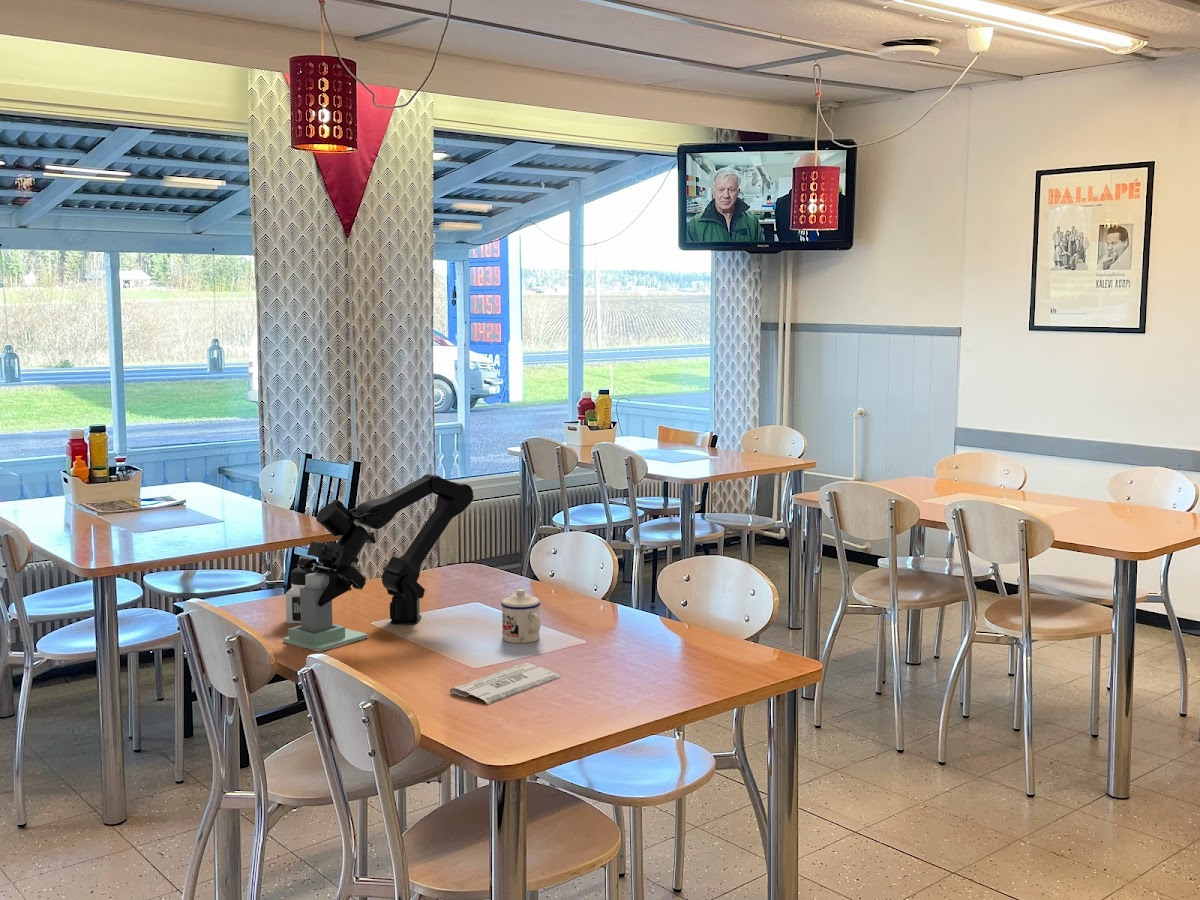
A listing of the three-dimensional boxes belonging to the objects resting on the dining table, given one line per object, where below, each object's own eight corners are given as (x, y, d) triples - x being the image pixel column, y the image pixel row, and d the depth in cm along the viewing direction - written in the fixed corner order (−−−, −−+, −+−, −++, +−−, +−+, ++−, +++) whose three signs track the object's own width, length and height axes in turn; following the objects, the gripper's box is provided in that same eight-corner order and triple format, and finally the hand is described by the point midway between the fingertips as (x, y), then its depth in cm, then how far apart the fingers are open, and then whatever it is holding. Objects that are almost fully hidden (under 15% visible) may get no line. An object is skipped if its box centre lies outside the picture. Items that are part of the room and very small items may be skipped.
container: (317, 623, 283) (316, 571, 282) (286, 623, 283) (284, 571, 282) (325, 615, 291) (324, 564, 289) (294, 615, 291) (293, 564, 289)
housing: (331, 628, 279) (331, 614, 278) (367, 638, 271) (367, 623, 270) (283, 641, 268) (283, 627, 267) (319, 652, 260) (319, 636, 259)
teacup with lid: (493, 637, 272) (493, 589, 270) (526, 631, 277) (525, 583, 276) (522, 649, 262) (522, 599, 261) (555, 642, 268) (555, 593, 266)
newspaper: (517, 669, 250) (518, 657, 250) (559, 686, 243) (560, 674, 242) (439, 695, 233) (440, 683, 232) (482, 714, 225) (483, 702, 225)
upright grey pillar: (318, 630, 271) (316, 571, 269) (332, 633, 268) (331, 574, 266) (301, 635, 267) (299, 575, 265) (315, 638, 264) (313, 578, 262)
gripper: (301, 523, 273) (264, 577, 266) (354, 532, 262) (316, 590, 254) (329, 550, 280) (293, 604, 273) (381, 560, 269) (345, 617, 261)
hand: (311, 603), depth 265 cm, fingers open, 5 cm apart
